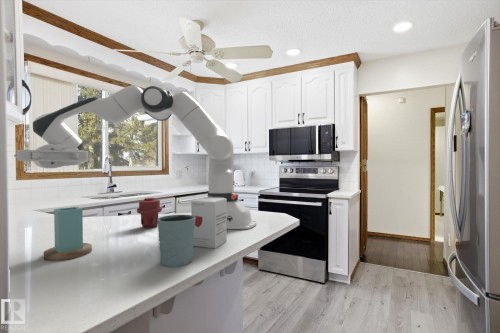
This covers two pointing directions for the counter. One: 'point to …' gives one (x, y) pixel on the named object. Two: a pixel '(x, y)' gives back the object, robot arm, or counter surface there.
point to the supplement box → (209, 221)
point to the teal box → (68, 229)
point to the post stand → (67, 253)
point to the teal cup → (176, 239)
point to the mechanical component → (149, 212)
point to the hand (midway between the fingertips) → (58, 155)
